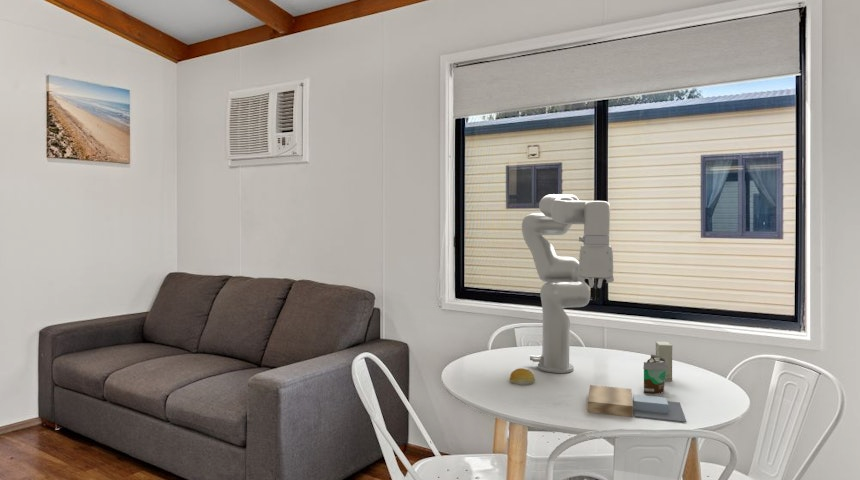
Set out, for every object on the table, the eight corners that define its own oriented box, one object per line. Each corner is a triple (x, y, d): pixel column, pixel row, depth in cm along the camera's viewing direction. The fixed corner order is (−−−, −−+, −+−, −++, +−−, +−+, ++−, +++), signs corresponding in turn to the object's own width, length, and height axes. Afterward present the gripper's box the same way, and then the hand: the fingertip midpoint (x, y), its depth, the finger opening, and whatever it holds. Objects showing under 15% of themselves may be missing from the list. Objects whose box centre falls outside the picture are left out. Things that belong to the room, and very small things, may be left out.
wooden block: (587, 411, 157) (587, 401, 157) (589, 394, 172) (590, 384, 172) (632, 416, 153) (632, 406, 153) (631, 398, 168) (631, 388, 168)
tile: (633, 409, 157) (633, 400, 157) (632, 402, 163) (633, 394, 163) (668, 413, 155) (668, 404, 155) (666, 406, 160) (666, 397, 160)
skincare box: (672, 381, 186) (673, 345, 185) (658, 380, 187) (659, 344, 186) (668, 376, 192) (669, 341, 191) (654, 375, 193) (655, 340, 192)
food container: (664, 397, 169) (664, 365, 169) (642, 394, 172) (643, 362, 172) (670, 387, 180) (671, 356, 179) (650, 384, 183) (651, 354, 182)
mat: (634, 417, 153) (634, 415, 153) (632, 398, 168) (632, 397, 168) (686, 422, 149) (686, 421, 149) (679, 403, 164) (679, 402, 164)
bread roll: (509, 385, 182) (509, 373, 182) (510, 377, 191) (511, 365, 190) (534, 386, 180) (534, 374, 180) (535, 378, 189) (535, 367, 189)
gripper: (570, 241, 170) (569, 300, 171) (622, 242, 165) (620, 303, 166) (572, 240, 177) (571, 297, 178) (621, 241, 172) (620, 299, 173)
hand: (595, 300), depth 172 cm, fingers closed
